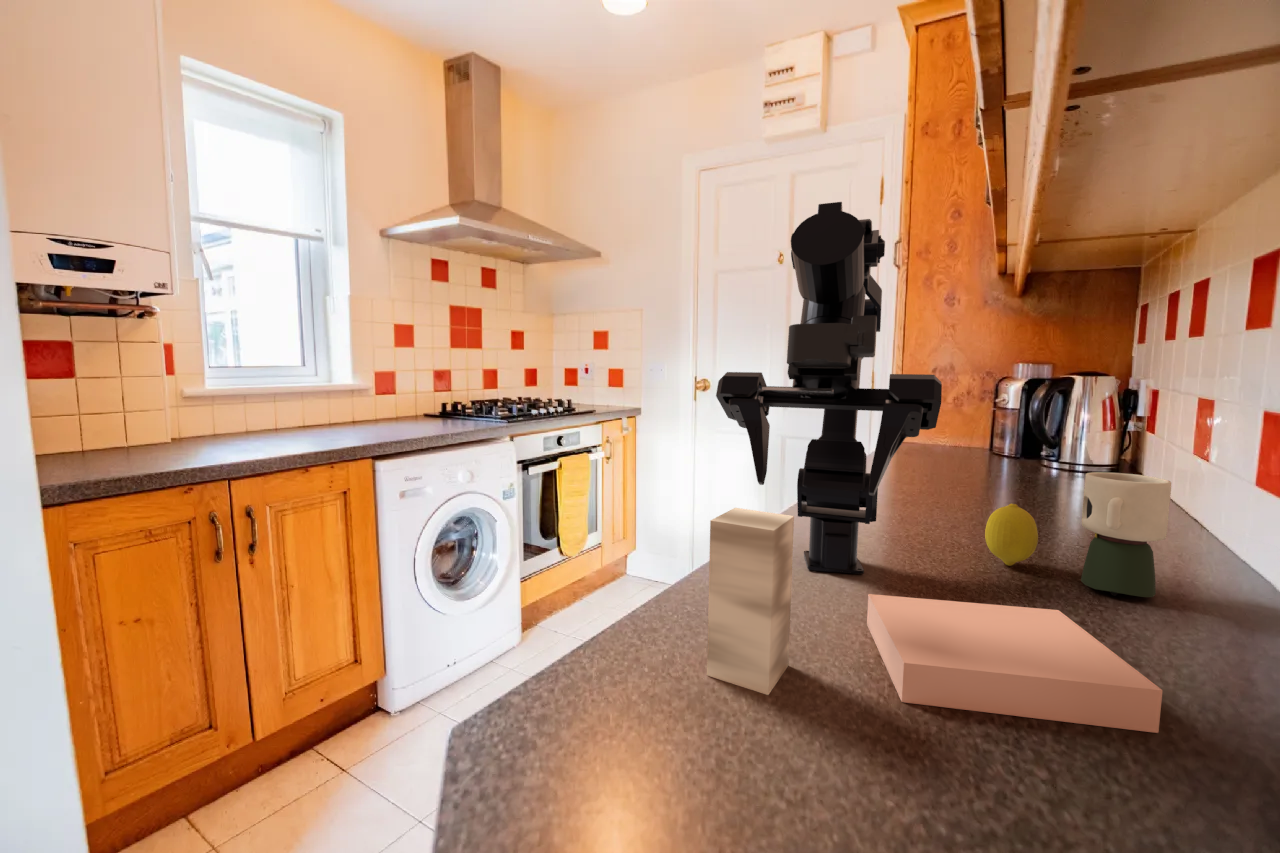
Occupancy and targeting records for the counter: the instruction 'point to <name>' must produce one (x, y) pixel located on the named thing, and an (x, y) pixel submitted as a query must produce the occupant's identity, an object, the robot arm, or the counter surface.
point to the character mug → (1124, 530)
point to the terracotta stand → (1008, 663)
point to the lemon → (1011, 534)
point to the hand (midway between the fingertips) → (813, 488)
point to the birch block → (749, 598)
